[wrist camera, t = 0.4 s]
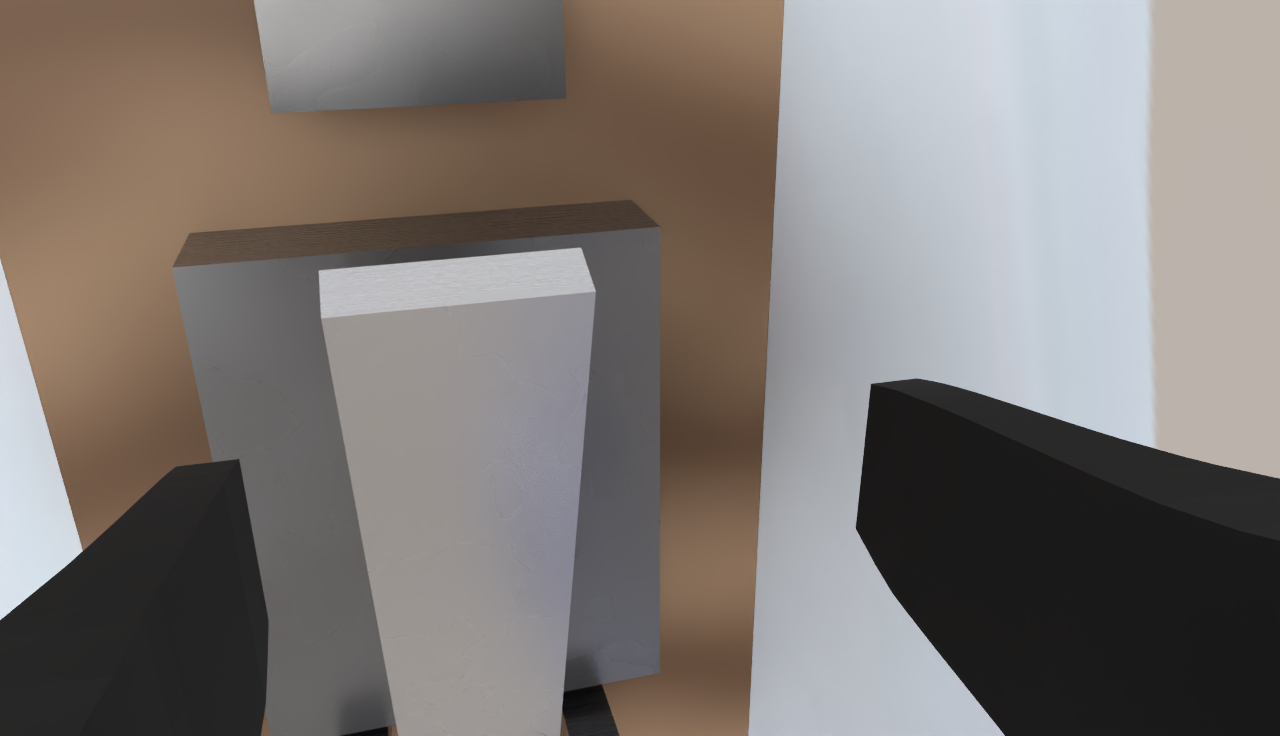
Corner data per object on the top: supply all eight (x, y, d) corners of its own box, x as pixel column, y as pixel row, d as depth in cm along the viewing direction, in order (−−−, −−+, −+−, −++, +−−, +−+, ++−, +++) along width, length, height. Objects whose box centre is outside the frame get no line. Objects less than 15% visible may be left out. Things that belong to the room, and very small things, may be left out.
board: (727, 710, 27) (747, 750, 26) (184, 824, 24) (175, 876, 23) (757, -84, 19) (788, -84, 18) (-59, -79, 16) (-96, -80, 15)
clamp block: (636, 670, 24) (686, 798, 20) (289, 737, 22) (279, 891, 18) (628, -58, 17) (700, -56, 14) (132, -53, 15) (69, -48, 12)
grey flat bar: (549, 739, 21) (561, 799, 20) (408, 768, 21) (413, 831, 20) (581, 247, 12) (605, 320, 11) (318, 270, 11) (322, 351, 10)
